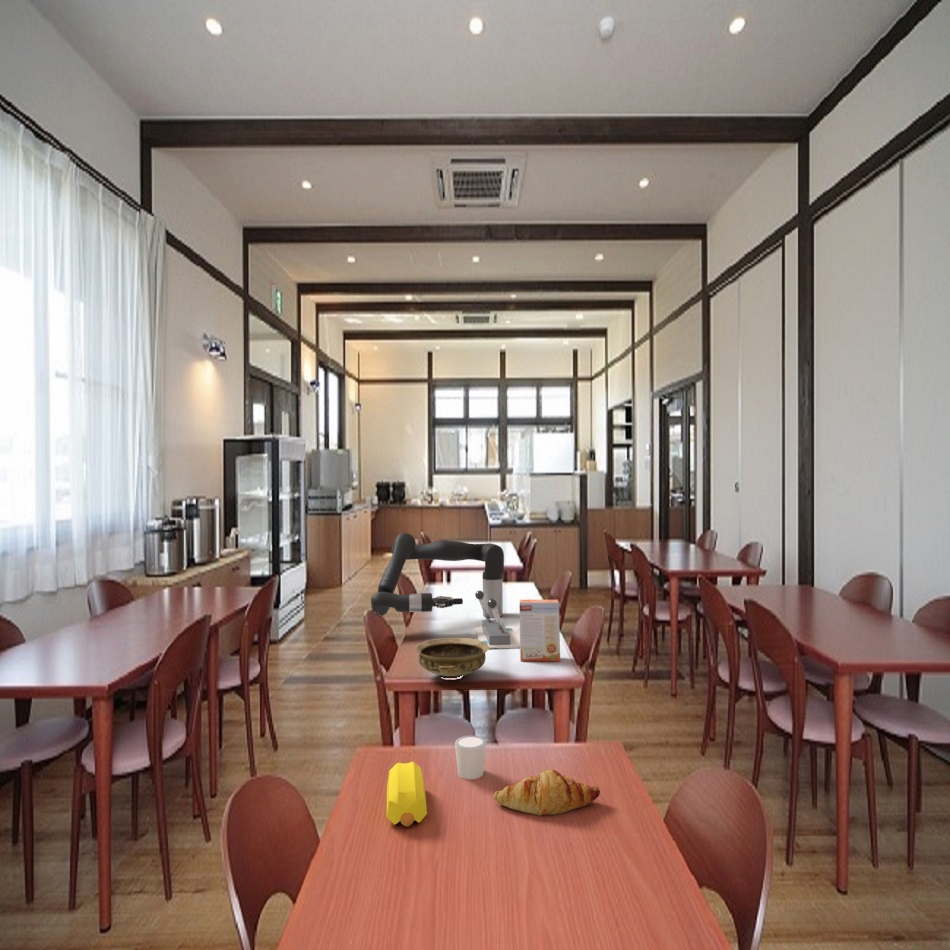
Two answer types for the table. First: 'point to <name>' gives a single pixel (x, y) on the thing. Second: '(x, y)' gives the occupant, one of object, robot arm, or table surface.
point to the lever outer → (496, 614)
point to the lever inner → (483, 604)
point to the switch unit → (498, 635)
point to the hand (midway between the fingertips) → (462, 601)
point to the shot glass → (470, 756)
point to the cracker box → (539, 630)
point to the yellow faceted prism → (406, 794)
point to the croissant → (546, 794)
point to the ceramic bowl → (452, 656)
